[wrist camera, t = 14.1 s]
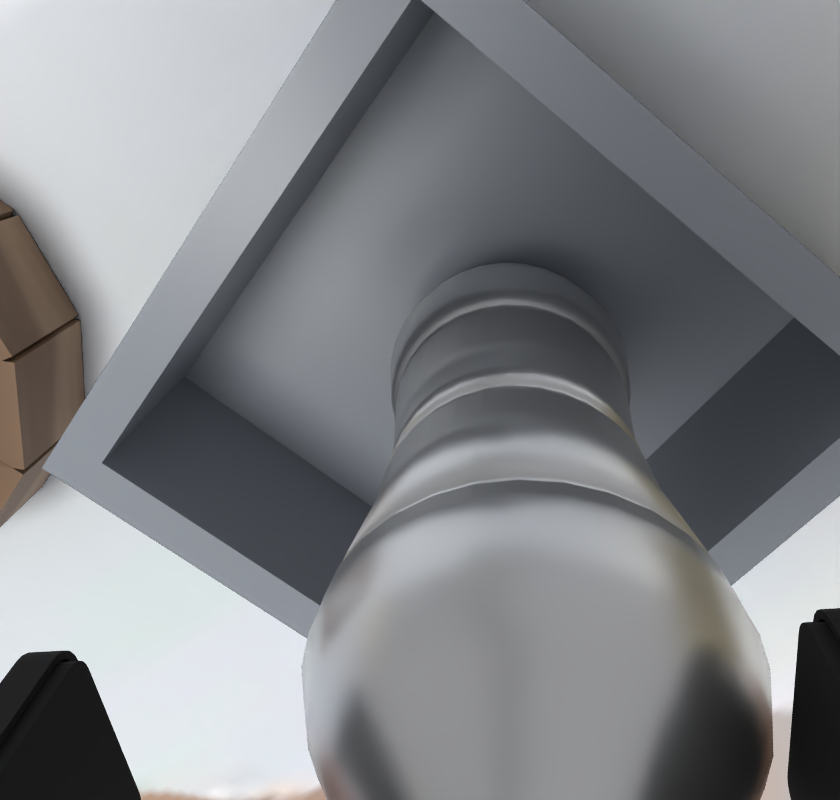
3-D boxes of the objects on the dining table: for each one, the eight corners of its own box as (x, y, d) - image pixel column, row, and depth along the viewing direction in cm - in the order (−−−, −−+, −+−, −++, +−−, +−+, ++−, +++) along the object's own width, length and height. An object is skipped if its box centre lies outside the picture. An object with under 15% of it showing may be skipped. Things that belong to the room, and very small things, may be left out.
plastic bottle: (411, 231, 23) (116, 862, 5) (638, 261, 23) (1180, 1035, 5) (390, 424, 26) (145, 1295, 8) (593, 453, 26) (836, 1420, 8)
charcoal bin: (429, -58, 21) (402, -106, 15) (841, 301, 24) (968, 389, 18) (148, 370, 27) (41, 468, 21) (506, 616, 30) (510, 768, 24)
